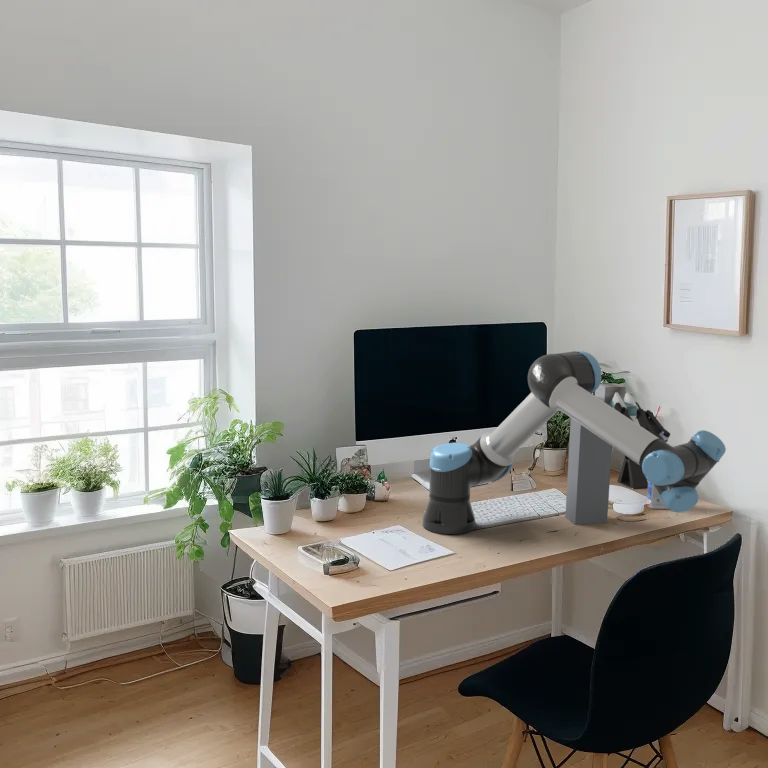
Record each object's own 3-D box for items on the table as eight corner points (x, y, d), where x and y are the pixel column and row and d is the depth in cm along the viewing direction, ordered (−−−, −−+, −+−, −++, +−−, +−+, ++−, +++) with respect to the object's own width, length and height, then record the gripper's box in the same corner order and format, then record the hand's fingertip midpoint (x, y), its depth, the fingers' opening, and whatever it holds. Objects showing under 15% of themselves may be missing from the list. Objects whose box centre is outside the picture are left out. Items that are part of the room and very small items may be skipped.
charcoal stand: (575, 524, 228) (581, 417, 223) (565, 516, 235) (571, 412, 230) (607, 522, 230) (613, 416, 225) (596, 515, 237) (602, 411, 232)
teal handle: (621, 416, 204) (622, 393, 203) (594, 404, 219) (595, 383, 218) (642, 415, 205) (644, 393, 204) (614, 404, 220) (615, 383, 219)
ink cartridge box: (676, 504, 249) (679, 460, 247) (682, 509, 243) (686, 464, 241) (645, 503, 249) (648, 459, 247) (650, 509, 244) (653, 464, 241)
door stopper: (617, 482, 273) (619, 448, 271) (631, 480, 275) (633, 447, 273) (633, 489, 265) (635, 454, 263) (648, 487, 267) (650, 453, 265)
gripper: (622, 469, 193) (589, 407, 211) (680, 467, 196) (643, 406, 214) (632, 447, 189) (597, 385, 207) (691, 445, 192) (651, 384, 209)
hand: (620, 396), depth 210 cm, fingers closed on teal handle, 2 cm apart
